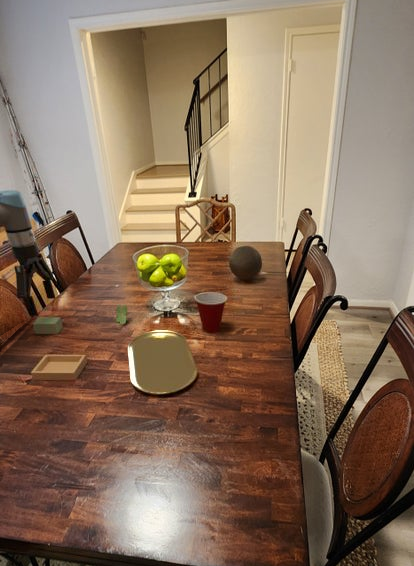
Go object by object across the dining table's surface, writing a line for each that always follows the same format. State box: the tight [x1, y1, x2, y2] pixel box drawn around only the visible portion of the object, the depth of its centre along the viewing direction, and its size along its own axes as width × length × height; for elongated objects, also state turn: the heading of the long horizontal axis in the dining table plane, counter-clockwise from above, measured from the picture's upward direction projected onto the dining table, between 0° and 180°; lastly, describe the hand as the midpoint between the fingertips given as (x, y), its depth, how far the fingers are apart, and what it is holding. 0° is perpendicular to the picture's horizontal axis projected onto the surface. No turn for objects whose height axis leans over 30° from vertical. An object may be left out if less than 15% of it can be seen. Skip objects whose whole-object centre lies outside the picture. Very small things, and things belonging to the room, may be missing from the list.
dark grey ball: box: [228, 245, 263, 281], centre depth 162 cm, size 14×14×15 cm
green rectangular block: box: [32, 316, 64, 335], centre depth 131 cm, size 8×5×4 cm, turn 86°
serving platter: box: [127, 329, 199, 396], centre depth 111 cm, size 19×35×2 cm, turn 13°
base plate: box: [30, 354, 88, 381], centre depth 109 cm, size 13×10×3 cm
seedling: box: [115, 304, 129, 326], centre depth 136 cm, size 7×8×6 cm
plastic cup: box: [194, 291, 228, 334], centre depth 124 cm, size 11×11×12 cm
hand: (43, 306), depth 127 cm, fingers open, 13 cm apart
